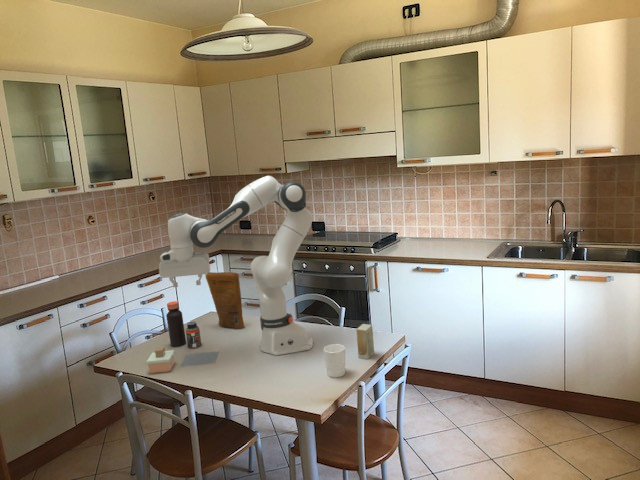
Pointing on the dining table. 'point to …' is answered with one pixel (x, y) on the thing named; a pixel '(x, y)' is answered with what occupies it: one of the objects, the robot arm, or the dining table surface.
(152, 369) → the peach storage bin
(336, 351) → the white cup
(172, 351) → the lid
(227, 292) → the pancake mix bag
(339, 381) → the dining table surface
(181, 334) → the vinegar
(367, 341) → the skincare box
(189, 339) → the supplement bottle
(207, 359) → the mat
